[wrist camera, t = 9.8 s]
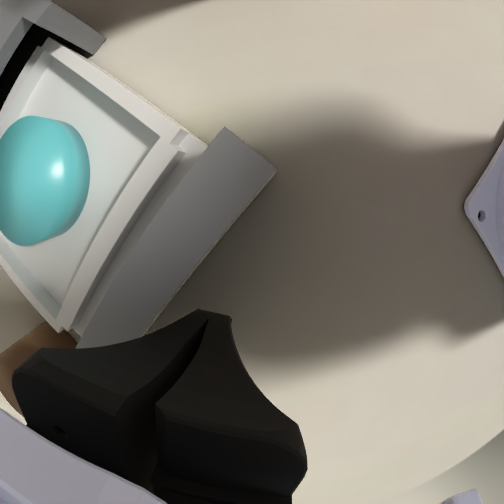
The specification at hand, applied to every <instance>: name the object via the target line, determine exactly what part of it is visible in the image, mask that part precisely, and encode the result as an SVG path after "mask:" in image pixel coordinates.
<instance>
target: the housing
mask: <svg viewBox="0 0 504 504" xmlns="http://www.w3.org/2000/svg"><path fill="white" fill-rule="evenodd" d="M33 23H34V24H36V25H38V26H40V27H42V28H44V29H46V30H48V31H50V32H52V33H54V34H56V35H58V36H60V37H62V38H64V39H66V40H67V41H69V42H71V43H73V44H75V45H77V46H78V47H80V48H82V49H84V50H86V51H87V52H89V53H91V54H93V55H94V54H95V52H96V51H97V50H98V48H99V47H100V46H101V45H102V44H103V42H104V41H105V40H106V39H107V38H105V37H104V36H103V35H101V34H100V33H98V32H97V31H95V30H94V29H93V28H91V27H90V26H88V25H87V24H85V23H84V22H82V21H81V20H79V19H78V18H76V17H75V16H73V15H72V14H70V13H69V12H67V11H66V10H64V9H62V8H61V7H59V6H58V5H56V4H54V3H53V2H51V1H48V0H0V75H1V74H2V72H3V70H4V68H5V66H6V65H7V63H8V61H9V59H10V58H11V56H12V54H13V53H14V51H15V50H16V48H17V46H18V45H19V43H20V42H21V40H22V39H23V37H24V36H25V34H26V33H27V31H28V30H29V29H30V27H31V26H32V24H33Z"/></svg>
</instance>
